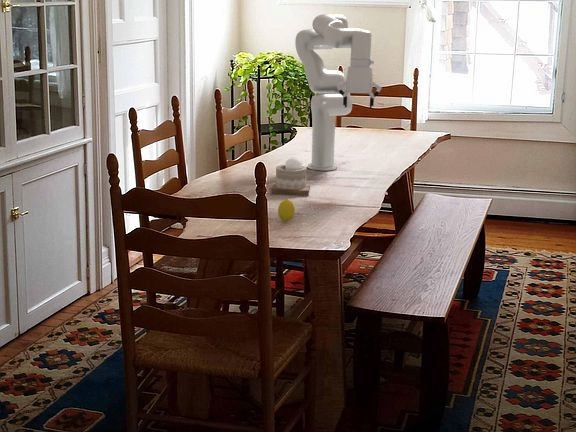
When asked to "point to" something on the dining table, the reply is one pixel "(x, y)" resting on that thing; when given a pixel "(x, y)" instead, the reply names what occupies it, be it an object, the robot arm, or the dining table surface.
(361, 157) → the dining table surface
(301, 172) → the socket
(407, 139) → the dining table surface
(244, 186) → the dining table surface
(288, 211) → the lemon
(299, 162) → the lightbulb
